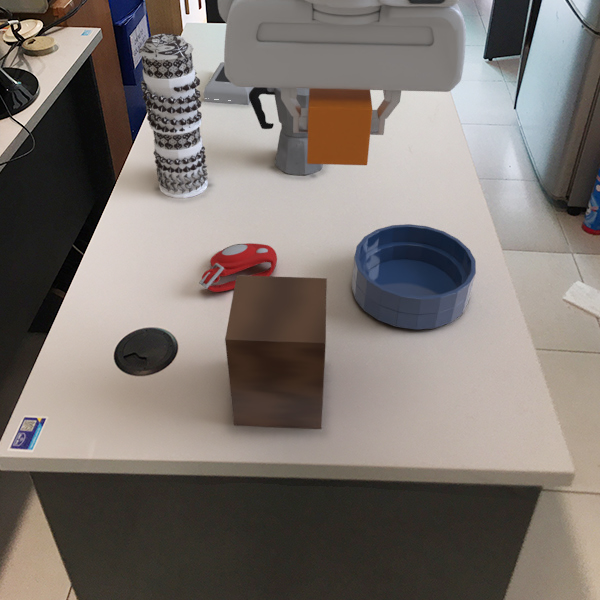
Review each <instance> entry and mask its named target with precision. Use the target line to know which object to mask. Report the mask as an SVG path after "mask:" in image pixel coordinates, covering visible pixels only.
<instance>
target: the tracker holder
mask: <svg viewBox="0 0 600 600" xmlns="http://www.w3.org/2000/svg"><path fill="white" fill-rule="evenodd" d="M209 262H210V265H211V268H209V269H208V270H205V272H204V273H203V275H202V276H201V280H200V281H199V285H200V286H202V287H203V288H204V289H206V290H209V291H210V292H213V293H219V292H224V291H230V290H234V288H235V282H236V279H234V280H230V281H227V282H224V283H219V284H215V283H218V282H220V277H227V276H231V275H234V274H236V273H239V272H241V271H244V270H247V269H249V268H252V267H254V266H257V265H260V264H264V263H270V267H269V268H267V269H265V270H263V271H260V272H256V273H253V274H250V275H249V276H272V274H273V273H274V270H275V268H276V266H277V262H278V255H277V252H276V250H275V249H274V248H273V247H272V246H270V245H268V244H264V243H236V244H232V245H229V246H227V247H225V248H223V249H222V250H220V251H218V252H216V253H215V254H214V255H213V256H211V258H210V261H209ZM213 283H214V284H213ZM212 284H213V285H212Z"/></svg>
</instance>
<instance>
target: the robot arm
mask: <svg viewBox="0 0 600 600" xmlns="http://www.w3.org/2000/svg"><path fill="white" fill-rule="evenodd" d="M459 3H460V0H217V9H218V13H219V16H220V17H221V19H222V20H223V22H224V23H225V24H226V27H225V35H224V48H223V49H224V50H223V51H224V53H223V62H224V71H225V76H226V77H227V78H228V80H229V81H230V82H231V83H232V84H233V85H234V86H237V87H269V88H281V100H282V101H283V103H284V104H285V106H286V108H287V109H288V111H289V112H290V114H291V116H293V133H308V108H301V107H300V105H299V103H298V101H297V99H296V98H297V88H311V89H352V90H370V91H382V92H383V100H382V102H381V103H380V104H379V106H378V107H377V108H376V109H372V120H371V131H370V136H384V134H385V125H386V120H387V119H388V118H389V117H390V115H392V112H394V110H395V109H396V108H397V106H398V105H399V104H400V103H401V97H402V92H434V93H435V92H440V93H448V92H449V93H450V92H451V91H452V90H453V89H454V88H456V87H457V85H458V84H460V82H461V81H462V78H463V72H464V64H465V56H466V42H467V27H466V21H465V18H464V15H463V12H462V10H461V8H460V6H459Z"/></svg>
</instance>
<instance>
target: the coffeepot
mask: <svg viewBox="0 0 600 600" xmlns="http://www.w3.org/2000/svg"><path fill="white" fill-rule="evenodd" d="M261 95H267V96H274V99H275V106H276V111H277V117H278V122H279V123H280V124H281V128H280V131H279V137H278V143H277V149H276V155H275V162H274V165H275V166H276V167H277V168H278V170H280V171H281V172H283V173H286V174H288V175H293V176H307V175H313V174H315V173H318V171H320V170H322V168H323V166H324V164H307V150H308V133H293V116H291V114H290V112H289V111H288V109H287V108H286V106H285V104H284V103H283V101H282V100H281V88H269V87H254V88H253V89H252V90H251V92H250V93H249V100H250V102H249V103H250V104H251V106H252V109H253V111H254V114H255V116H256V118H257V121H258V123H259V126H260V128H261V129H262V130H271V129H272V130H273V128H274V125H275V124H274V123H269V122H267V121H266V120H267V119H266V113H265V111H264V110H263V105H262V101H261V98H260V96H261ZM296 99H297V101H298V103H299V105H300V107H301V108H308V107H309V88H297V98H296Z"/></svg>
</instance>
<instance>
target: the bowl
mask: <svg viewBox="0 0 600 600" xmlns="http://www.w3.org/2000/svg"><path fill="white" fill-rule="evenodd" d="M352 267H353V268H352V280H351V288H352V292H353V293H352V294H353V296H354V297H353V298H354V300H355V301H356V302H357V304H358V305H359V306H360V307H361V309H362V310H363V311H364V312H366V313H367V314H368V315H370V316H372V317H373V318H375V319H376V320H377V321H379V322H382V323H385V324H387V325H390V326H393V327H396V328H402V329H409V330H429V329H436V328H439V327H442V326H444V325H445V326H446V325H448V324H451V323H452V322H454V321H455V320H456V319H457V318H459V317H460V316H461V315H462V314H463V313H464V312H465V310H466V307H467V306H468V305H469V301H470V297H471V293H472V289H473V285H474V281H475V278H476V273H477V269H476V259H475V257H474V255H473V253H472V252H471V250H470V248H469V247H468V246H466V245H465V244H464V243H463V242H462V241H461V240H460V239H459V238H457V237H455V236H453V235H452V234H450V233H447V232H446V231H444V230H440V229H438V228H434V227H431V226H428V225H420V224H419V225H418V224H411V223H407V224H406V223H405V224H392V225H388V226H385V227H381V228H377V229H375V230H374V231H372V232H370V233H368V234H367V235H365V236H363V238H362V239H361V240H360V241H359V242H358V243H357V245H356V248H355V253H354V256H353V266H352Z"/></svg>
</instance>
